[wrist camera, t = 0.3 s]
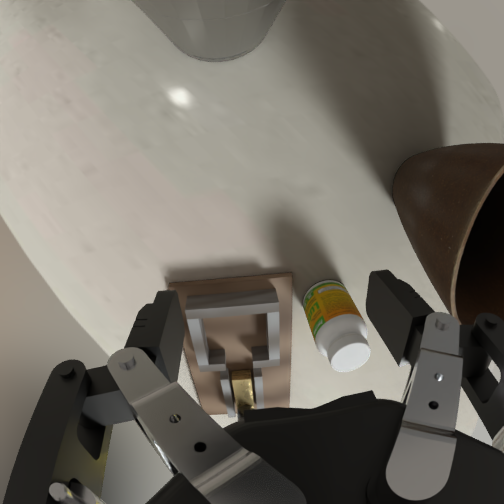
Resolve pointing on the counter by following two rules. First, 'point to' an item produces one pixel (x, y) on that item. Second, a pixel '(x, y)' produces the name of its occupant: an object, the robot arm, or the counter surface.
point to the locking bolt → (242, 391)
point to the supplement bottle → (336, 325)
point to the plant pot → (457, 224)
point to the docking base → (238, 338)
